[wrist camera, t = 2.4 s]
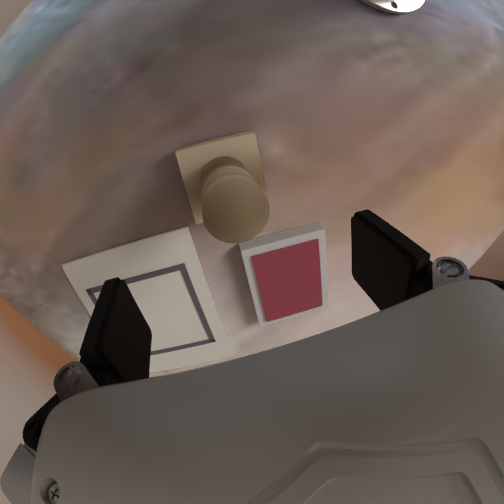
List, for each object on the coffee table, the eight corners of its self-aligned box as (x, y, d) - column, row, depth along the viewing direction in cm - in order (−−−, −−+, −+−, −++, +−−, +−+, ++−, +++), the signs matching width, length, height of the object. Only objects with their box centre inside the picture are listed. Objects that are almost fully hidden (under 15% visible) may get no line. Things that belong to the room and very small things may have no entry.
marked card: (62, 264, 24) (60, 266, 24) (187, 225, 25) (187, 227, 25) (133, 373, 34) (133, 375, 33) (233, 353, 34) (234, 356, 34)
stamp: (177, 147, 22) (165, 174, 13) (248, 129, 22) (281, 146, 14) (195, 212, 25) (197, 272, 17) (261, 195, 25) (296, 246, 17)
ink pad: (238, 243, 27) (241, 252, 25) (318, 222, 27) (325, 230, 26) (257, 318, 32) (260, 329, 31) (323, 299, 33) (329, 308, 31)
